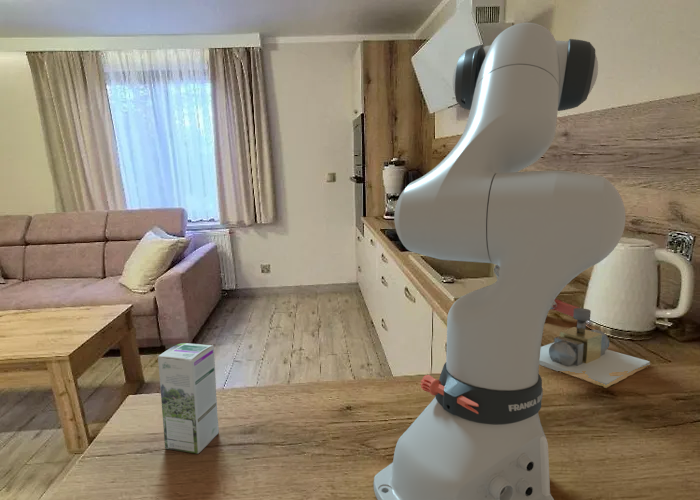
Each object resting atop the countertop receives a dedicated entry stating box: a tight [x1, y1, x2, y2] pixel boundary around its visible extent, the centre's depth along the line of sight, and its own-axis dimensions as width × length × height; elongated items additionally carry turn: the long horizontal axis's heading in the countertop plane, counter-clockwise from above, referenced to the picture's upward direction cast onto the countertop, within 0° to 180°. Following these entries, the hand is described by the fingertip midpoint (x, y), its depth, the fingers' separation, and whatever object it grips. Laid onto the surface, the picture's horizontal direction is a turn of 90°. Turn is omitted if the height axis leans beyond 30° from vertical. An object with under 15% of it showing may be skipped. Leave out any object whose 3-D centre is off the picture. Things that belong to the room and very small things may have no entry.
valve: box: [549, 320, 610, 366], centre depth 88 cm, size 15×6×9 cm, turn 123°
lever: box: [551, 298, 592, 322], centre depth 92 cm, size 3×12×2 cm, turn 11°
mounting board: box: [539, 342, 651, 385], centre depth 88 cm, size 19×18×1 cm
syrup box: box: [157, 342, 220, 455], centre depth 59 cm, size 6×6×14 cm
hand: (552, 308), depth 94 cm, fingers closed
